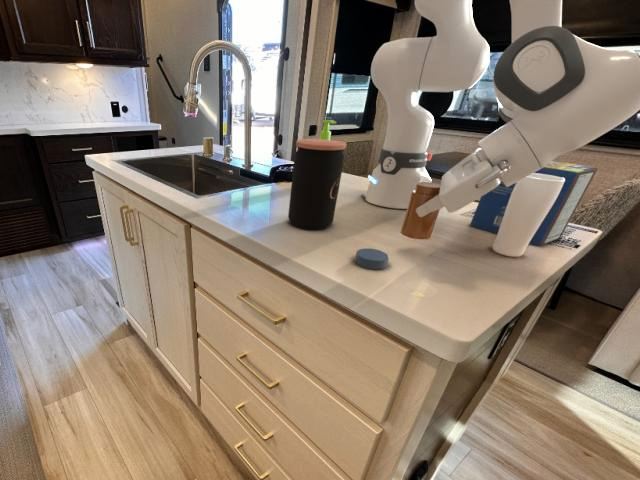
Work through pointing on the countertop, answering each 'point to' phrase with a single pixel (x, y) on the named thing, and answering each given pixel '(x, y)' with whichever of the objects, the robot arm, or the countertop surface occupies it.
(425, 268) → the countertop surface
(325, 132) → the soap dispenser
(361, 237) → the countertop surface
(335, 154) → the coffee jar
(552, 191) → the drinking glass
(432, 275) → the countertop surface
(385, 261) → the jam lid
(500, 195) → the protein box
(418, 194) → the jam jar
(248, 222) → the countertop surface
